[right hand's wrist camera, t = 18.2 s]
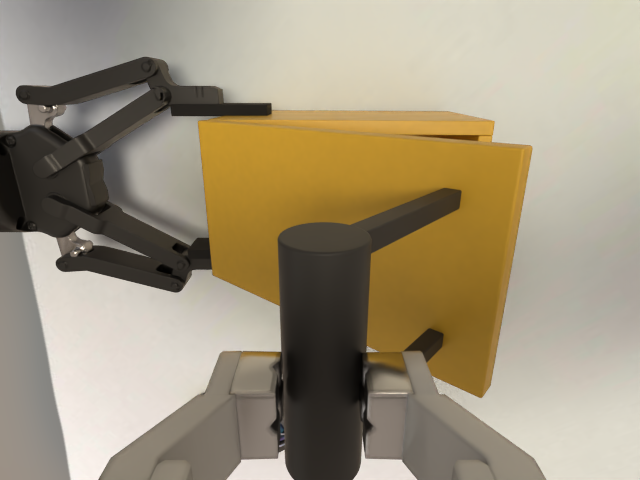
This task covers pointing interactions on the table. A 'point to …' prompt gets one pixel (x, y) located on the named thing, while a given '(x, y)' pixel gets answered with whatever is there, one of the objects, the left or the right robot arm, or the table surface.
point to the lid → (363, 260)
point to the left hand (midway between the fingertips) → (272, 182)
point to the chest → (382, 122)
